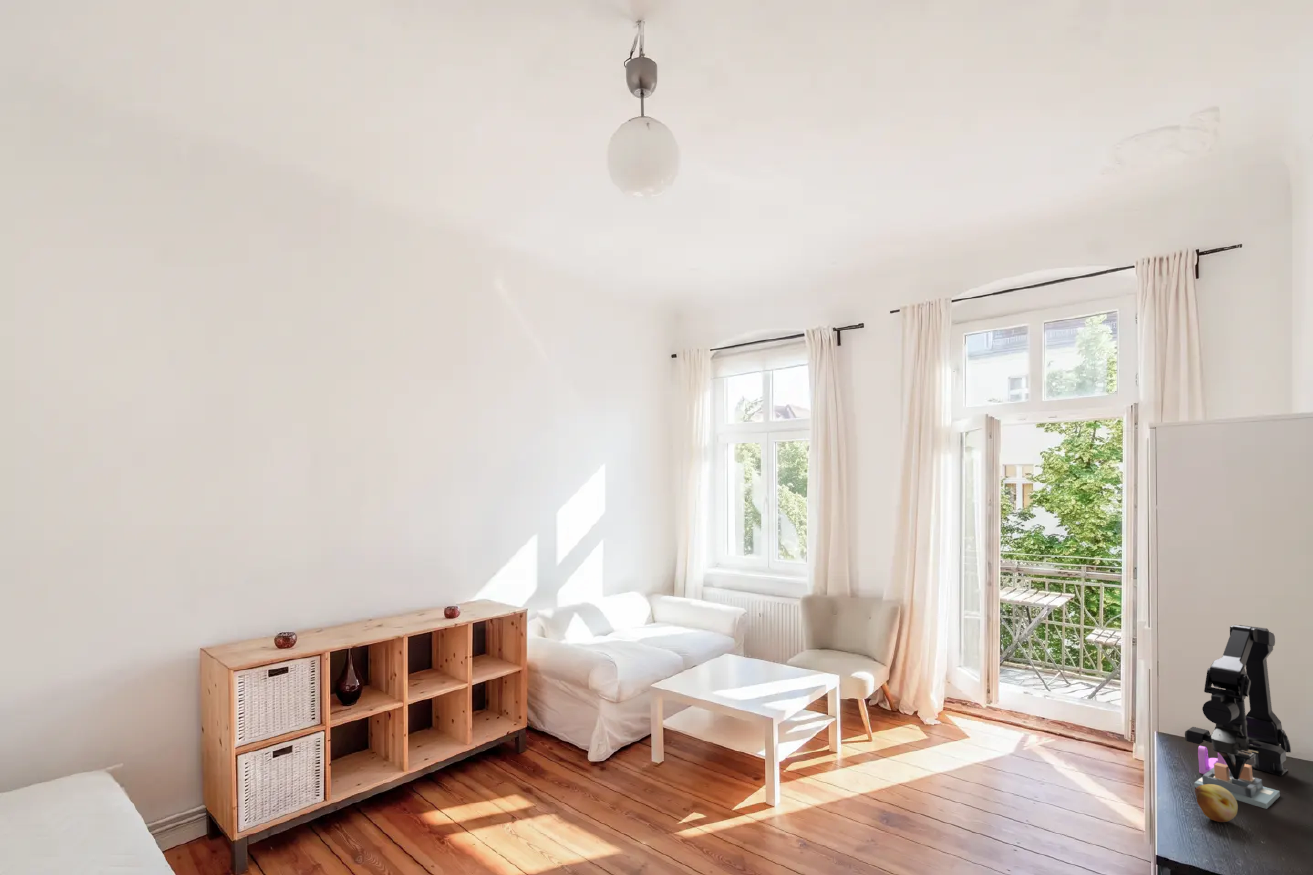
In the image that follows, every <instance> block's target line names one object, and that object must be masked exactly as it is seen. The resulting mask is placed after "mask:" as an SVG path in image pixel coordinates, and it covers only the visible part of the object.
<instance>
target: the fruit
mask: <svg viewBox="0 0 1313 875" xmlns="http://www.w3.org/2000/svg"><path fill="white" fill-rule="evenodd" d="M1194 794H1195V796H1196V802H1197V804H1198V807H1199V808H1200V810H1201V811H1202V813H1203V814H1204V815H1205V816H1206V817H1207V818H1209V820H1211V821H1214V822H1218V823H1226V822H1230V821H1232V820H1233V819H1234V818H1236V816H1237V814H1238V808H1239V806H1238V800H1236V799H1235V798H1234V796H1233V795H1232V794H1231V793H1230V792H1229V791H1228V790H1227V789H1225V788H1223V787H1221V786H1219V785H1215V784H1205V785H1201V786H1198V787H1197V788H1195V789H1194Z"/></svg>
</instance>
